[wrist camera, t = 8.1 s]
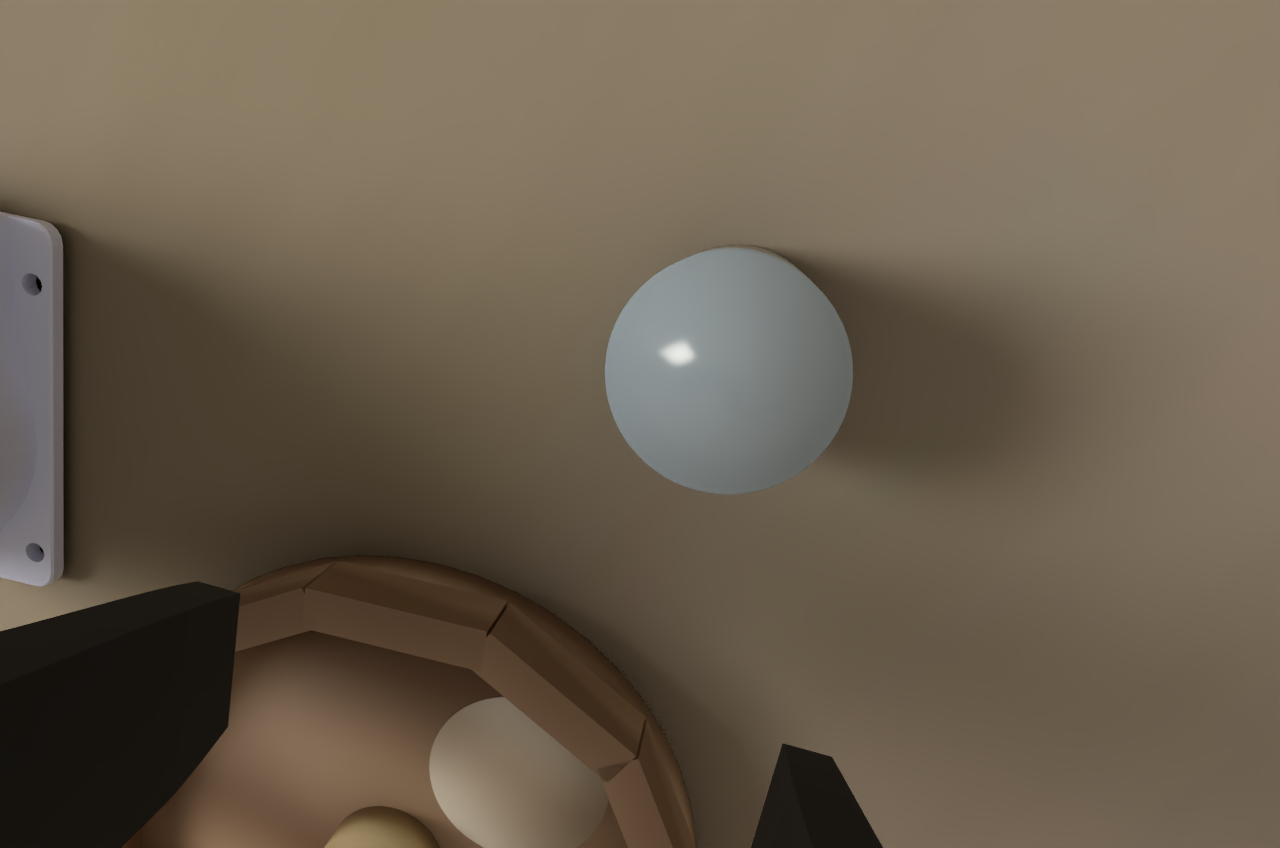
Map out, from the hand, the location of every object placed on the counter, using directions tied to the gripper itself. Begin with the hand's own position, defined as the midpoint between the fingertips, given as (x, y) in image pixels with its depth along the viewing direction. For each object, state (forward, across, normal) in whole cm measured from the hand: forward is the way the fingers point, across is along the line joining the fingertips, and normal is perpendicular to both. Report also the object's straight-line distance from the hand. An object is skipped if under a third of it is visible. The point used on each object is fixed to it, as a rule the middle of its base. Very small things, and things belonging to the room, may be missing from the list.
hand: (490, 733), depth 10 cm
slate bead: (+9, -2, -4) cm, 10 cm away
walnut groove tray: (+9, +4, +11) cm, 15 cm away
